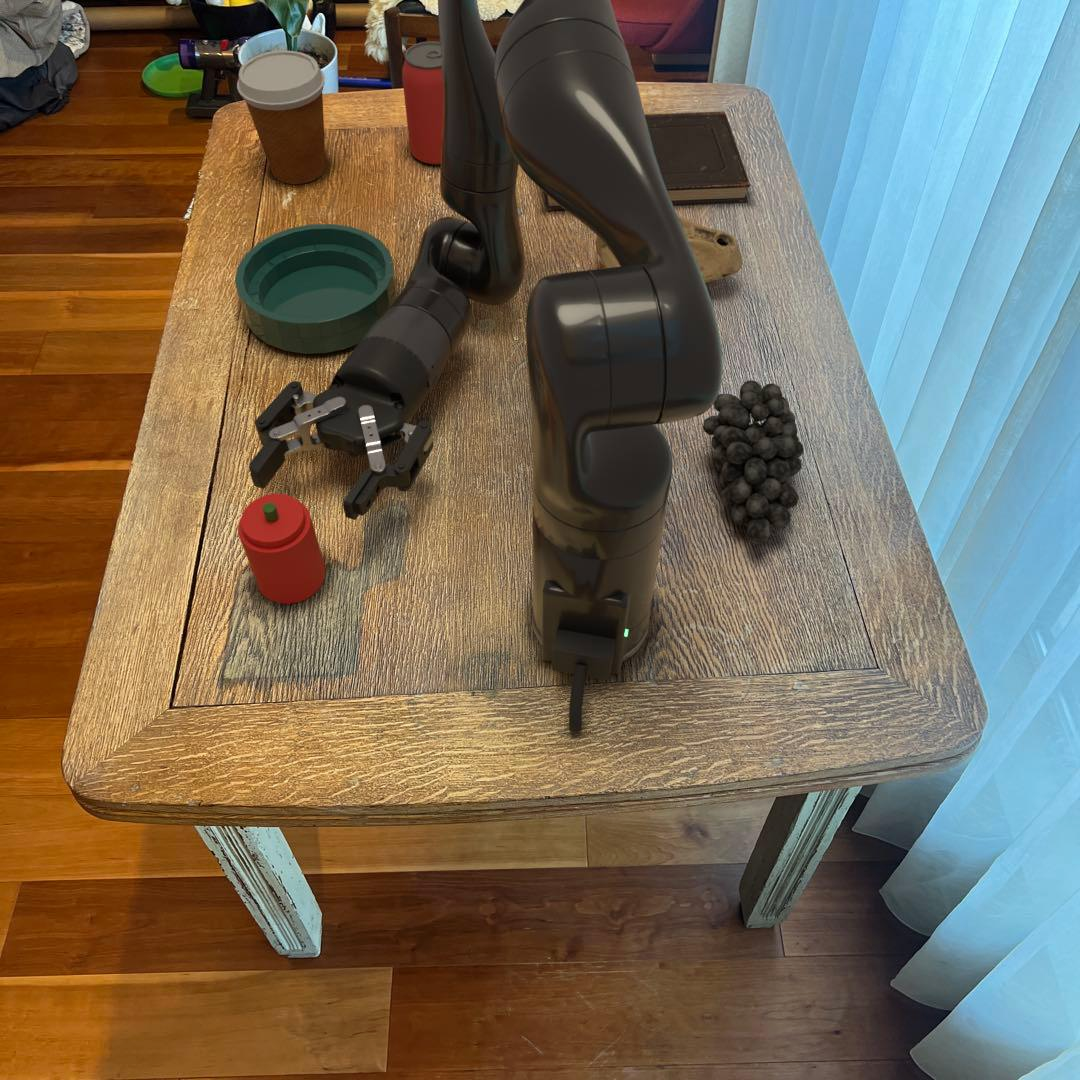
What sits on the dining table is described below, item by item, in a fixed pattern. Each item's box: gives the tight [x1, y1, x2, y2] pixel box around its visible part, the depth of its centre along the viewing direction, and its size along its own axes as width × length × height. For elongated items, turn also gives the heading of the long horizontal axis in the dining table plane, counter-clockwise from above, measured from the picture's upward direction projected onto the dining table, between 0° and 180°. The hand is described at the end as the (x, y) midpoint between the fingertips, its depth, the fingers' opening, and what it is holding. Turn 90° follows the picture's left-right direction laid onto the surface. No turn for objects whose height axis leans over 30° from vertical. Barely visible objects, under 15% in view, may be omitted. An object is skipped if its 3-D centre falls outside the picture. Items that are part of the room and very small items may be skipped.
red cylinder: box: [237, 493, 326, 605], centre depth 81 cm, size 6×6×9 cm
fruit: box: [702, 380, 805, 545], centre depth 87 cm, size 9×8×15 cm
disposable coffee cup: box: [236, 50, 327, 185], centre depth 116 cm, size 10×10×12 cm
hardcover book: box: [543, 110, 751, 212], centre depth 120 cm, size 16×23×2 cm
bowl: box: [234, 223, 399, 355], centre depth 104 cm, size 16×16×4 cm
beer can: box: [401, 40, 444, 166], centre depth 118 cm, size 7×7×12 cm
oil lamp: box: [595, 214, 744, 284], centre depth 105 cm, size 11×15×8 cm
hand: (301, 496), depth 82 cm, fingers open, 8 cm apart
